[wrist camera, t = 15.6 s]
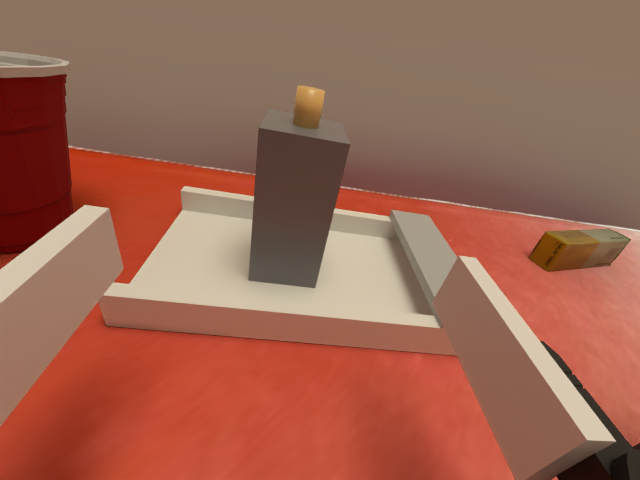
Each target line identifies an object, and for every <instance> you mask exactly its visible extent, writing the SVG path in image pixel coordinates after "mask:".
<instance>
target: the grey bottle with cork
mask: <svg viewBox="0 0 640 480" xmlns="http://www.w3.org/2000/svg"><path fill="white" fill-rule="evenodd" d="M324 95H325V91H323V90H321V89H317V88H313V87H309V86H301V85H299V86H297V94H296V101H295V109H294V113H288V112H284V111H278V110H273V109H269V110H268V112H267V114H266V115H265V117H264V119H263V121H262V123H261V124H260V126H259V131H258V147H257V161H256V175H255V190H254V204H253V219H252V234H251V248H250V263H249V278H248V281H255V282H264V283H273V284H282V285H290V286H299V287H308V288H315V287H316V283H317V279H318V275H319V271H320V267H321V263H322V258H323V254H324V250H325V246H326V242H327V238H328V234H329V230H330V226H331V221H332V217H333V213H334V209H335V205H336V201H337V197H338V193H339V189H340V185H341V180H342V176H343V172H344V168H345V164H346V160H347V155H348V151H349V148H350V143H349V140H348V137H347V135H346V132H345V129H344V127H343V124H342V123H341V122H336V121H331V120H325V119H320V117H321V111H322V106H323V100H324Z"/></svg>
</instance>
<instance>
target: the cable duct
mask: <svg viewBox="0 0 640 480" xmlns="http://www.w3.org/2000/svg"><path fill="white" fill-rule="evenodd" d="M181 200H182V211H181V213H180V214H179V215H178V217H177V218H176V220H175V221H174V222H173V224H172V225H171V227H170V228H169V229H168V231H167V232H166V234H165V235H164V236H163V238H162V239H161V241H160V242H159V243H158V245H157V246H156V248H155V249H154V250H153V252H152V253H151V254H150V256H149V257H148V259H147V260H146V261H145V263H144V264H143V266H142V267H141V268H140V270H139V271H138V273H137V274H136V275H135V277H134V278H133V280H132V281H131V282H130V284H123V283H112V285H111V286H110V287H109V288H108V290H107V291H106V292H105V293H104V295H103V296H102V297H101V299H100V300H99V301H98V302H99V305H100V308H101V311H102V314H103V317H104V320H105V323H106V326H112V327H124V328H136V329H148V330H160V331H171V332H183V333H195V334H207V335H219V336H230V337H242V338H254V339H266V340H278V341H289V342H301V343H313V344H325V345H337V346H348V347H360V348H372V349H384V350H396V351H407V352H419V353H431V354H443V355H455V356H457V355H456V353H455V351H454V349H453V347H452V345H451V342H450V340H449V338H448V336H447V334H446V332H445V330H444V328H443V325H442V323H441V321H440V319H439V317H438V315H437V313H436V311H435V308H434V306H433V304H432V302H433V300H434V298H435V296H436V295H437V293H438V291H439V289H440V288H441V286H442V284H443V282H444V281H445V279H446V277H447V275H448V274H449V272H450V270H451V268H452V267H453V265H454V263H455V261H456V260H457V256H456V255H455V253H454V252H453V250H452V249H451V248H450V246H449V245H448V243H447V242H446V240H445V239H444V237H443V236H442V234H441V233H440V231H439V230H438V229H437V227H436V226H435V224H434V223H433V221H432V220H431V218H430V217H429V215H422V214H416V213H409V212H403V211H396V210H391V213H390V215H389V217H388V216H382V215H375V214H368V213H361V212H355V211H348V210H341V209H334V213H333V217H332V221H331V226H330V230H329V234H328V238H327V242H326V246H325V250H324V254H323V258H322V263H321V267H320V271H319V275H318V279H317V283H316V287H315V288H308V287H299V286H290V285H282V284H273V283H264V282H255V281H248V278H249V263H250V248H251V234H252V219H253V204H254V196H248V195H241V194H234V193H228V192H221V191H214V190H208V189H201V188H194V187H187V186H184V187H183V189H182V190H181Z"/></svg>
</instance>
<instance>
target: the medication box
mask: <svg viewBox="0 0 640 480" xmlns="http://www.w3.org/2000/svg"><path fill="white" fill-rule="evenodd" d="M630 240H631V239H629V238H627V237H626V236H624V235H622V234H620V233H618V232H615V231H613V230H610V229H593V230H569V231H546V232H545V233H544V235H543V236H542V238H541V239H540V240H539V242H538V243H537V245H536V246H535V248H534V249H533V251H532V253H531V255H530V256H529V259H531V260H532V261H533V262H534V263H536V264H537V265H538V266H540V267H541V268H543V269H544V270H546V271H547V272H550V271H561V270H571V269H581V268H591V267H601V266H610V264H611V263H612V262H613V261H614V260H615V259H616V258H617V257H618V255H619V254H620V253H621V252H622V250H623V249H624V248H625V246H626V245H627V244H628V243H629V242H630Z"/></svg>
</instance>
